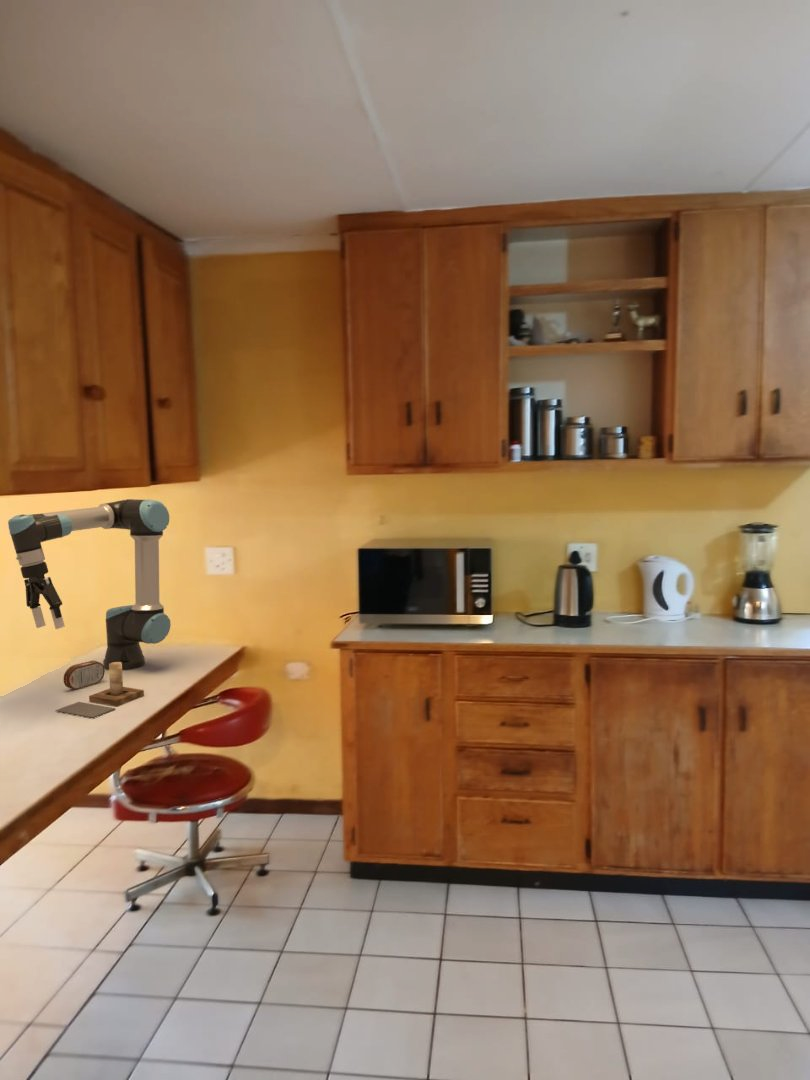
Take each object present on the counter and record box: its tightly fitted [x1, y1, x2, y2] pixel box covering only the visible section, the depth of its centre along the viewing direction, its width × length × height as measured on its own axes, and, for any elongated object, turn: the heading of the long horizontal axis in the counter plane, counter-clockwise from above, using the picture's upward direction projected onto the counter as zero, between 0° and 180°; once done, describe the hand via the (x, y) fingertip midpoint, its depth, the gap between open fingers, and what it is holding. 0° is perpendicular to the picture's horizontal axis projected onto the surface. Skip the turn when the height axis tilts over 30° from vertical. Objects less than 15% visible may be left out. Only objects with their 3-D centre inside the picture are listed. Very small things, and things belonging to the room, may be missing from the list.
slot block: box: [88, 686, 145, 708], centre depth 244 cm, size 12×12×2 cm
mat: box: [55, 701, 116, 719], centre depth 232 cm, size 9×16×1 cm, turn 66°
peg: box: [108, 662, 124, 696], centre depth 243 cm, size 4×4×12 cm
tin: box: [63, 660, 106, 690], centre depth 258 cm, size 15×3×8 cm, turn 149°
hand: (50, 627), depth 236 cm, fingers open, 13 cm apart
